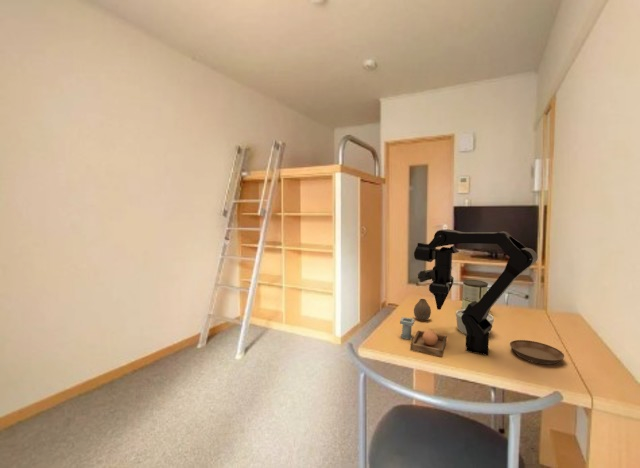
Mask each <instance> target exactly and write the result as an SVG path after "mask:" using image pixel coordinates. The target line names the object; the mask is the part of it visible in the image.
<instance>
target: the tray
mask: <svg viewBox="0 0 640 468" xmlns="http://www.w3.org/2000/svg"><path fill="white" fill-rule="evenodd" d="M424 332H425V331H423V330H422V331H421V330H417V332H416V333H415V335H414V337H413V338H412V339H411V340H412V341H411V343H410V346H409V347H410V349H409V351H413V352H417V353H422V354H425V355H431V356H435V357H439V358H442V357H443V354H444V352H445V349H446V344H447V340H448V338H447V337H448V336H447V335H442V334H438V333H436V335H437V337H438V341H437V343H436V344H435V345H432V346H430V345H427V344H425V343H424V341H423V334H424Z"/></svg>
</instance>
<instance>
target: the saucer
mask: <svg viewBox="0 0 640 468" xmlns="http://www.w3.org/2000/svg"><path fill="white" fill-rule="evenodd" d="M509 346H510V348H511V349H512V350H513V352H514V353H515V354H516V355H517V356H518V357H521V358H522V359H524V360H526V361H528V360H529V362H531V361H532V362H531V363H536V364H539V363H541V365H542V364H543V365H553V364H557V363H559V362H561V361H562V360H563V359H564V358H565V355H564V353H563V352H562V351H561V350H559V349H558V348H557V347H554V346H551V345H548V344H546V343H542V342H539V341H534V340H528V339H527V340H525V339H517V340H516V339H515V340H512V341H511V342H510V343H509Z"/></svg>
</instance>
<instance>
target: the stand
mask: <svg viewBox="0 0 640 468" xmlns="http://www.w3.org/2000/svg"><path fill="white" fill-rule="evenodd" d="M415 321H416V320H415V318H410V317H403V316H402V317H401V319H400V320H399V324H400V325H402V330H401V331H402V332H401V334H400V337H401V338H402V339H404V340H413V335H412V328H413V326H414V324H415Z"/></svg>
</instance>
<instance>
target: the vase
mask: <svg viewBox="0 0 640 468" xmlns="http://www.w3.org/2000/svg"><path fill="white" fill-rule="evenodd" d="M413 314H414V317H415V318H416V320H418V321H421V322H426V321H428V320H429V319H430V317H431V314H432V309H431V306H430V305H429V303H428V301H427V300H426V299H425V298H419V300H418V302H416V304H415V305H414V308H413Z"/></svg>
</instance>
